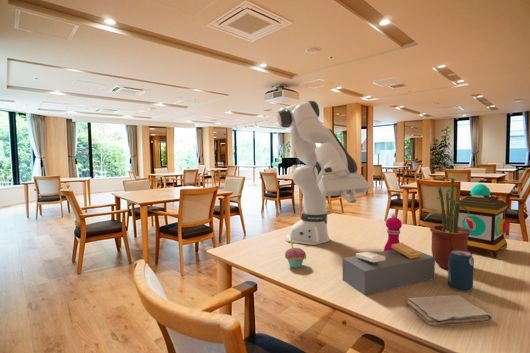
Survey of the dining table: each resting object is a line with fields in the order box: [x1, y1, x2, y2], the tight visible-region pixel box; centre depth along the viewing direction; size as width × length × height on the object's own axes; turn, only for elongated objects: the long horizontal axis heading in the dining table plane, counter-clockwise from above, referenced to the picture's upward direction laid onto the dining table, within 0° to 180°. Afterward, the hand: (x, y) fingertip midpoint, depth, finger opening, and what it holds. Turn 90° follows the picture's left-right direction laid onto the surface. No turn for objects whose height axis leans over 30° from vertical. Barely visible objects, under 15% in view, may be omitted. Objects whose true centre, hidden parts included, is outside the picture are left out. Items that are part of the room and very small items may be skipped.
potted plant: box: [423, 177, 470, 270], centre depth 115 cm, size 17×16×35 cm
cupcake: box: [284, 239, 307, 269], centre depth 118 cm, size 9×8×12 cm
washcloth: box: [406, 294, 493, 327], centre depth 83 cm, size 12×18×3 cm, turn 97°
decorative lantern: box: [452, 183, 509, 259], centre depth 131 cm, size 20×20×30 cm
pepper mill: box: [383, 213, 403, 251], centre depth 119 cm, size 7×7×20 cm
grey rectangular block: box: [342, 249, 436, 296], centre depth 104 cm, size 12×30×9 cm, turn 110°
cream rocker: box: [355, 251, 385, 262], centre depth 100 cm, size 9×5×1 cm, turn 20°
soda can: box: [447, 250, 475, 292], centre depth 97 cm, size 7×7×12 cm
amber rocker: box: [391, 242, 423, 259], centre depth 106 cm, size 9×5×1 cm, turn 20°
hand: (352, 202), depth 108 cm, fingers closed
